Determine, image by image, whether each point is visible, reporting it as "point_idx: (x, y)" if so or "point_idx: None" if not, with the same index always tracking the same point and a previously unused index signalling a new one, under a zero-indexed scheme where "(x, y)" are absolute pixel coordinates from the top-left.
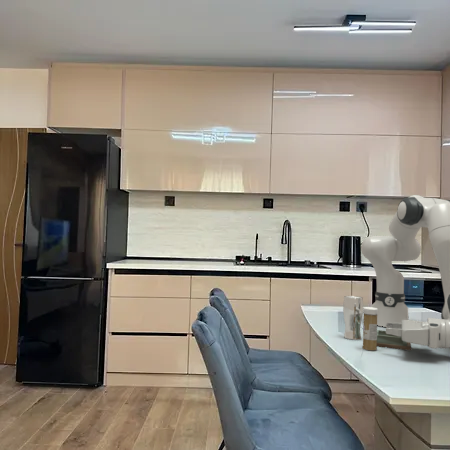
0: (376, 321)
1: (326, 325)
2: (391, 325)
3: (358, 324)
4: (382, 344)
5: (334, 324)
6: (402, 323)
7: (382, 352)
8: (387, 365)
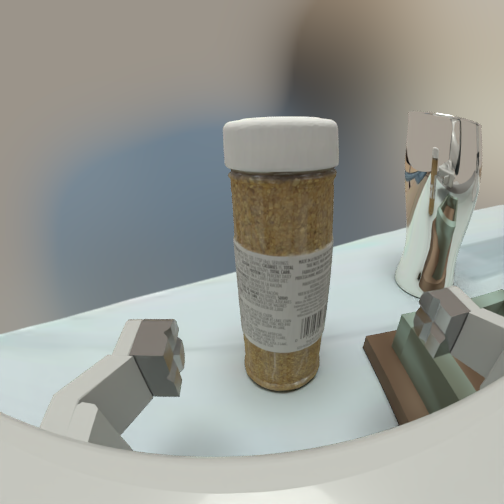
0: (270, 233)
1: (474, 227)
2: (442, 327)
3: (434, 238)
4: (390, 386)
5: (498, 232)
6: (450, 409)
7: (247, 424)
8: (10, 414)
